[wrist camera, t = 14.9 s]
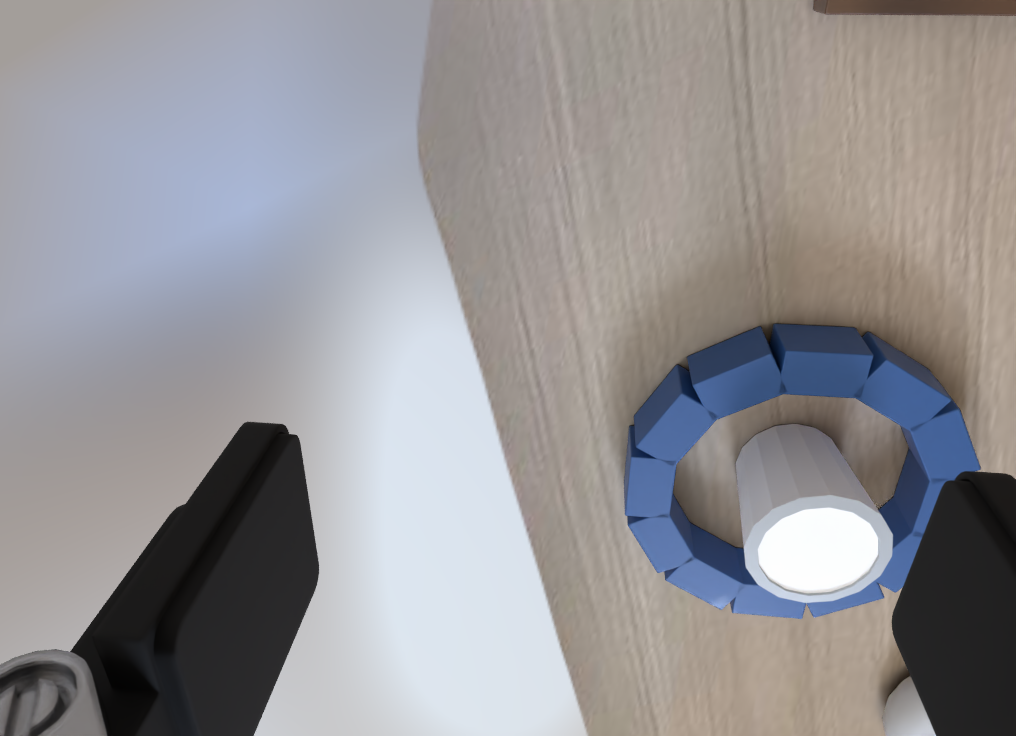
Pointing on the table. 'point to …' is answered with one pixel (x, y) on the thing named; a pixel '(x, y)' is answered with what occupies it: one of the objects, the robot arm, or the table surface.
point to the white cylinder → (807, 517)
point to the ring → (762, 376)
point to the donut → (906, 712)
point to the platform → (917, 7)
